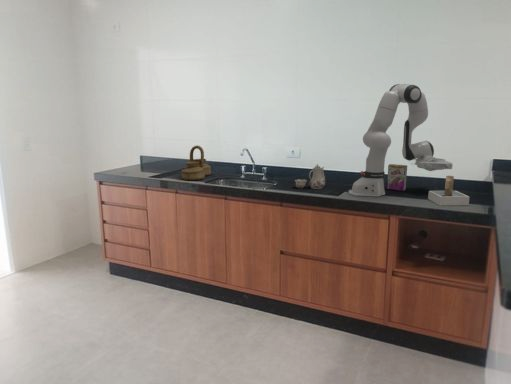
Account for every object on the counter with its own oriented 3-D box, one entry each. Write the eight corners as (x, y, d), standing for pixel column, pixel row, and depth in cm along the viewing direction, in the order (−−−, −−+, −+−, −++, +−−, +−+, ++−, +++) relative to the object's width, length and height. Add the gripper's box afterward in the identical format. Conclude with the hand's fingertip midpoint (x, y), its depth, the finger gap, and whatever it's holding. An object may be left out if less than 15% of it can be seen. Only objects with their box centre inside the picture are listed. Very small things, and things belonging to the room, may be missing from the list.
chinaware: (317, 185, 299) (315, 162, 296) (336, 185, 286) (335, 161, 284) (291, 190, 280) (289, 166, 278) (310, 191, 268) (309, 166, 265)
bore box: (439, 205, 230) (440, 196, 229) (428, 199, 245) (428, 190, 244) (468, 205, 230) (469, 196, 229) (455, 198, 245) (456, 190, 244)
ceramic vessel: (191, 173, 342) (190, 143, 337) (213, 174, 339) (212, 143, 334) (178, 181, 309) (176, 147, 304) (201, 181, 306) (200, 147, 301)
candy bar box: (386, 189, 274) (387, 164, 270) (388, 187, 278) (390, 163, 274) (403, 191, 268) (405, 166, 264) (405, 189, 272) (407, 165, 268)
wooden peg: (445, 201, 235) (448, 176, 232) (442, 199, 239) (444, 175, 236) (452, 201, 235) (455, 176, 232) (449, 199, 239) (451, 175, 236)
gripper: (414, 158, 260) (422, 161, 246) (446, 159, 260) (457, 162, 246) (413, 168, 261) (421, 171, 247) (445, 169, 261) (455, 172, 247)
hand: (439, 167), depth 247 cm, fingers open, 8 cm apart
